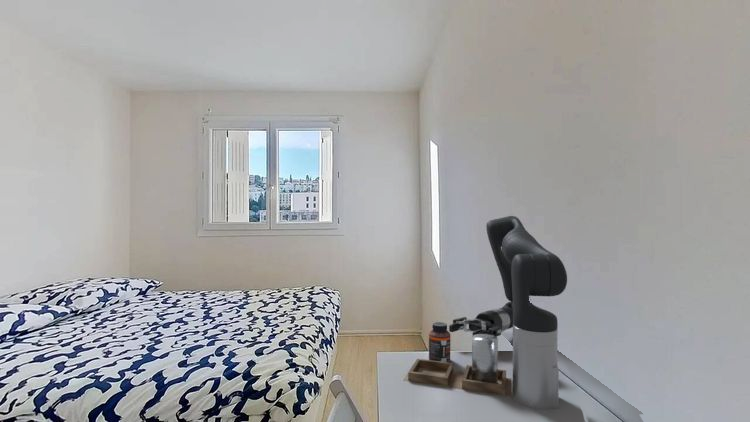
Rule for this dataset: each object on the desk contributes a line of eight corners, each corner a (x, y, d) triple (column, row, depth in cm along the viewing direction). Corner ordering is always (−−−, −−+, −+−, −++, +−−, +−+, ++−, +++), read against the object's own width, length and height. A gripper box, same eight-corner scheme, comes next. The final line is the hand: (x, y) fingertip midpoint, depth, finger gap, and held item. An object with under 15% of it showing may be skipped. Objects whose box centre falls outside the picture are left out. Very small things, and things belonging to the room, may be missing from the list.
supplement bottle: (450, 369, 106) (450, 327, 106) (428, 367, 108) (428, 326, 108) (450, 361, 112) (450, 321, 112) (429, 359, 113) (429, 320, 113)
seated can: (498, 380, 97) (498, 335, 97) (497, 390, 91) (497, 343, 91) (473, 376, 99) (473, 332, 99) (470, 386, 93) (470, 340, 93)
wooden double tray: (511, 383, 98) (511, 370, 98) (510, 401, 88) (510, 387, 88) (413, 369, 106) (413, 357, 106) (403, 384, 97) (403, 371, 97)
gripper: (474, 306, 132) (442, 314, 122) (513, 314, 121) (482, 324, 111) (474, 328, 132) (442, 338, 122) (513, 339, 121) (482, 351, 111)
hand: (461, 332), depth 116 cm, fingers open, 8 cm apart
